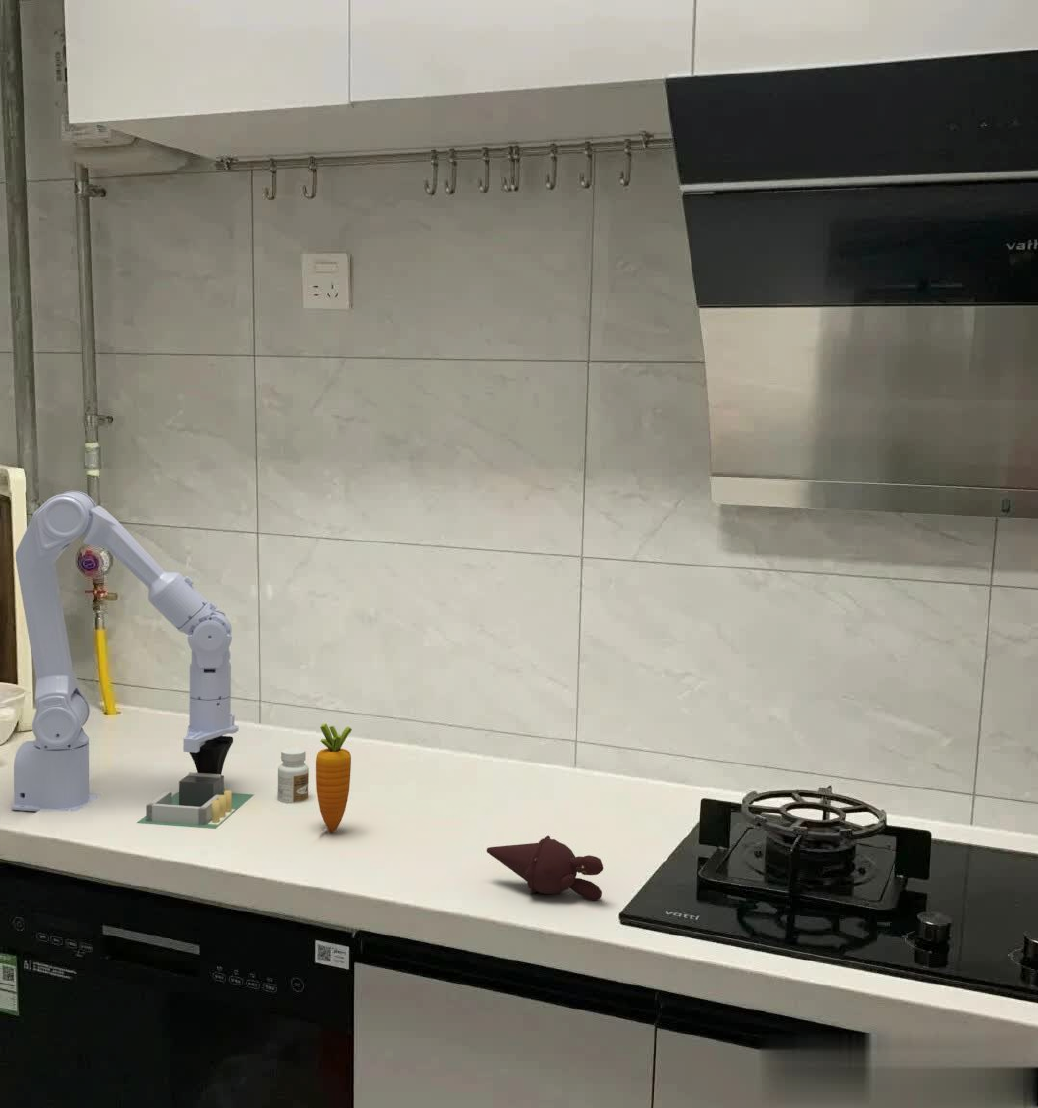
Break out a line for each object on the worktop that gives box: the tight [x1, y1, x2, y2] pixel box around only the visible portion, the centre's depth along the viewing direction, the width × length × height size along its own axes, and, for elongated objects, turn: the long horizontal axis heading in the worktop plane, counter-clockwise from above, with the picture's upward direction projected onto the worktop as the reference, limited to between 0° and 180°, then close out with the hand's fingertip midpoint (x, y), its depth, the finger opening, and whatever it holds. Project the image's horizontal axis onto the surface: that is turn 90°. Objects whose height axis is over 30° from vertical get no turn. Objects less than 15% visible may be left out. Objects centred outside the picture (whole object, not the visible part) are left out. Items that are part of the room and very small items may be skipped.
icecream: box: [486, 835, 604, 901], centre depth 139 cm, size 7×7×15 cm
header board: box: [136, 789, 255, 830], centre depth 163 cm, size 11×15×4 cm
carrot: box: [315, 723, 352, 834], centre depth 156 cm, size 5×5×15 cm
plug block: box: [178, 771, 225, 807], centre depth 165 cm, size 5×4×4 cm
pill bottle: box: [277, 746, 310, 804], centre depth 168 cm, size 4×4×8 cm
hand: (209, 788), depth 169 cm, fingers closed
